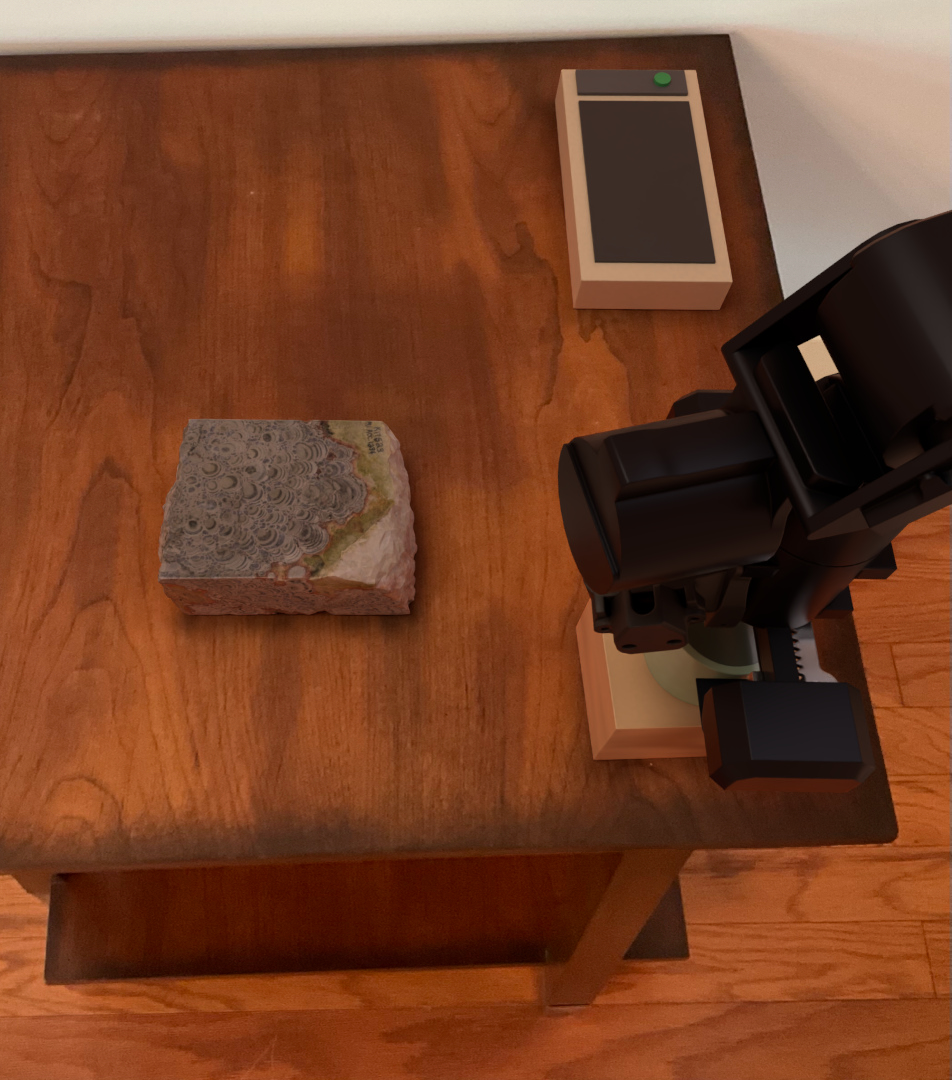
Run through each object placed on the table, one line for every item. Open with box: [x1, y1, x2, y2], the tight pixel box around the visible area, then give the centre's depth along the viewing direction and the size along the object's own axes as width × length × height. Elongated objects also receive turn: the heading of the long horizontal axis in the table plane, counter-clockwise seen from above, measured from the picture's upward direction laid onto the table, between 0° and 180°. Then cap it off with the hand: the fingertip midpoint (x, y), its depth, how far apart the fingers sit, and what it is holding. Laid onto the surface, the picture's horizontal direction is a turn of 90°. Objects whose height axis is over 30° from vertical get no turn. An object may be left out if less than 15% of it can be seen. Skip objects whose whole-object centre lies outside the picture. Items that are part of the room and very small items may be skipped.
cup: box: [644, 621, 760, 706], centre depth 55 cm, size 6×6×5 cm
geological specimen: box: [157, 418, 418, 616], centre depth 65 cm, size 11×6×15 cm
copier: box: [554, 68, 733, 311], centre depth 77 cm, size 20×10×4 cm, turn 179°
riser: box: [575, 597, 802, 761], centre depth 60 cm, size 10×8×6 cm
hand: (706, 645), depth 56 cm, fingers open, 7 cm apart
